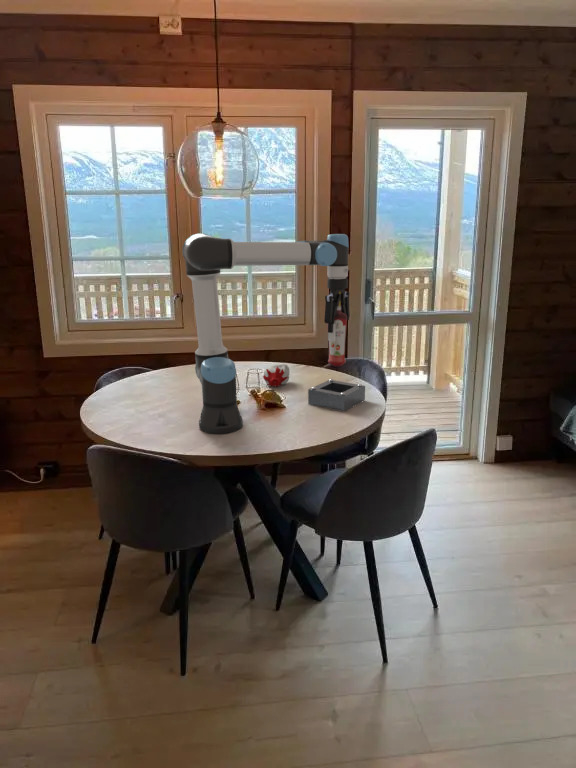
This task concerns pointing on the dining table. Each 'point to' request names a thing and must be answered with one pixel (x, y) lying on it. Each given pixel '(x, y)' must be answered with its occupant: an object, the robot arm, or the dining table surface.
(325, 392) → the housing
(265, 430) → the dining table surface
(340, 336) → the liquor
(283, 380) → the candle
